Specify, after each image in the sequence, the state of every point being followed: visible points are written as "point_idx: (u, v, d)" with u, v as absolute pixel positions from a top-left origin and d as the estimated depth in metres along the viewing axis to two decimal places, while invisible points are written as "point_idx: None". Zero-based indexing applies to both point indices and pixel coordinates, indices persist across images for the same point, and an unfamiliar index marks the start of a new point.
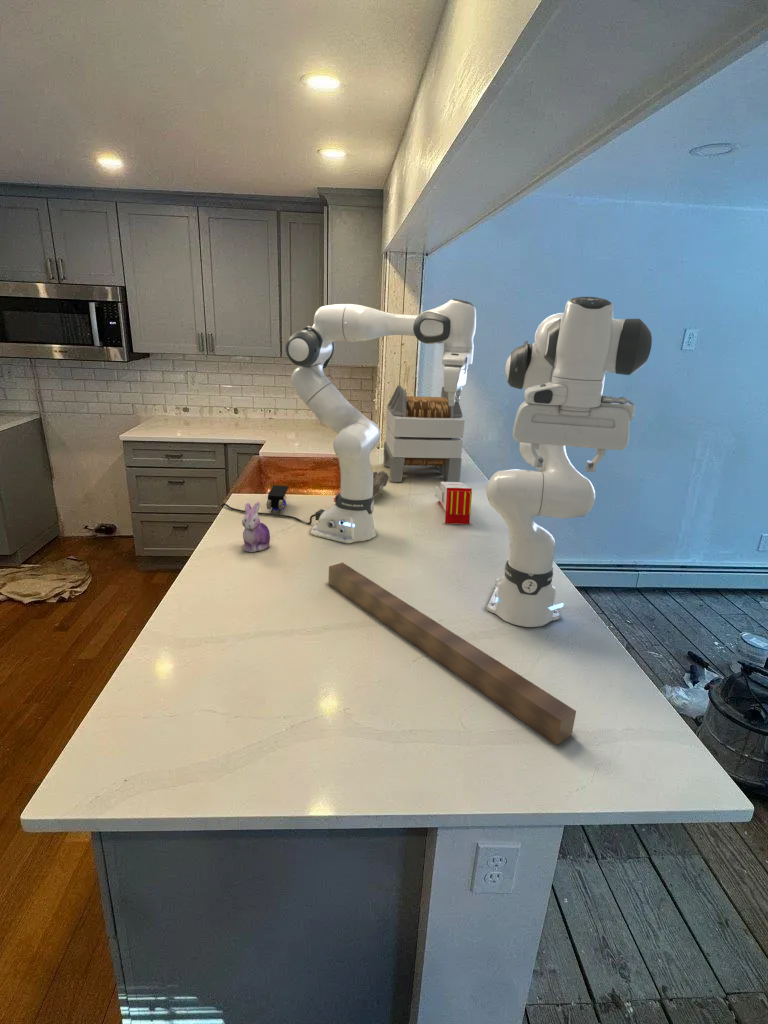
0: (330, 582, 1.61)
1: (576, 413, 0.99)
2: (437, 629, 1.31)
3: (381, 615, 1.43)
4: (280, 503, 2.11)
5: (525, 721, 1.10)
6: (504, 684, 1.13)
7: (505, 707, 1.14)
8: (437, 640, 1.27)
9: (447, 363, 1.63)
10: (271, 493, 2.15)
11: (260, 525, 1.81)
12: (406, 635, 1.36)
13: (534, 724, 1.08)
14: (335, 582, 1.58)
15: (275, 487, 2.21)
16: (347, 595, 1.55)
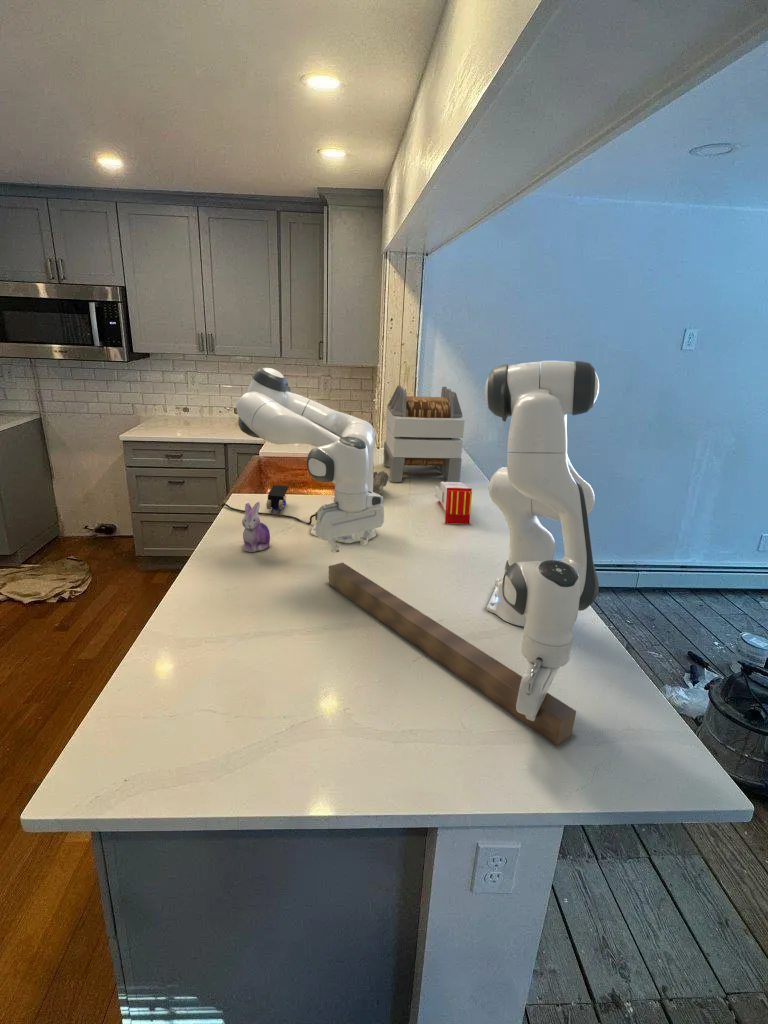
0: (330, 582, 1.61)
1: None
2: (437, 629, 1.31)
3: (381, 615, 1.43)
4: (280, 503, 2.11)
5: (525, 721, 1.10)
6: (504, 684, 1.13)
7: (505, 707, 1.14)
8: (437, 640, 1.27)
9: None
10: (271, 493, 2.15)
11: (260, 525, 1.81)
12: (406, 635, 1.36)
13: (534, 724, 1.08)
14: (335, 582, 1.58)
15: (275, 487, 2.21)
16: (346, 595, 1.55)
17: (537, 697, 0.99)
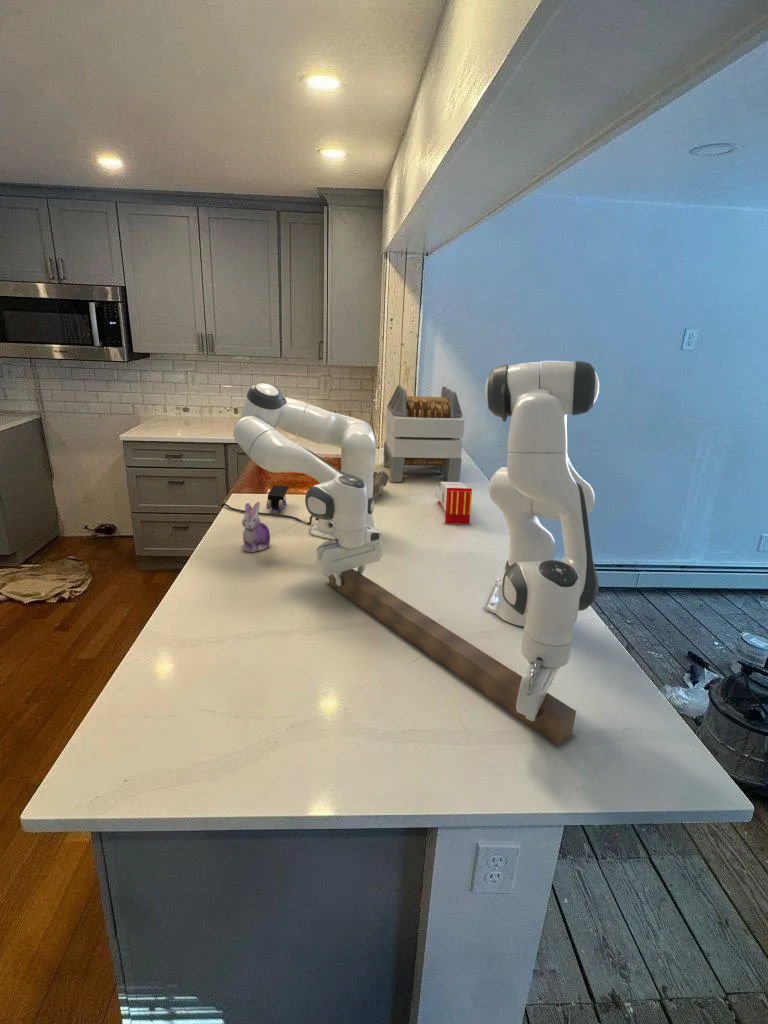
0: (330, 582, 1.61)
1: None
2: (437, 629, 1.31)
3: (381, 615, 1.43)
4: (280, 503, 2.11)
5: (525, 721, 1.10)
6: (504, 684, 1.13)
7: (505, 707, 1.14)
8: (437, 640, 1.27)
9: None
10: (271, 493, 2.15)
11: (260, 525, 1.81)
12: (406, 635, 1.36)
13: (534, 724, 1.08)
14: (335, 582, 1.58)
15: (275, 487, 2.21)
16: (346, 595, 1.55)
17: (537, 697, 0.99)
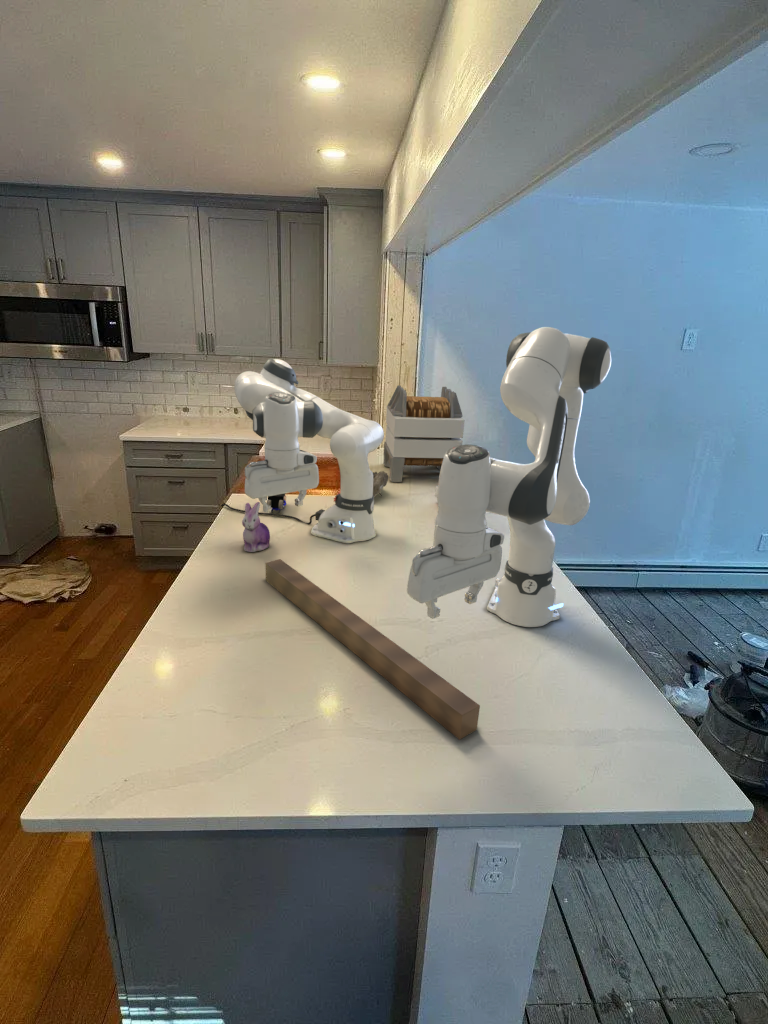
0: (267, 579, 1.61)
1: None
2: (359, 625, 1.31)
3: (310, 612, 1.44)
4: (280, 503, 2.11)
5: (433, 716, 1.10)
6: (414, 679, 1.13)
7: (416, 702, 1.14)
8: (357, 636, 1.27)
9: None
10: None
11: (260, 525, 1.81)
12: (331, 631, 1.36)
13: (440, 718, 1.09)
14: (271, 578, 1.59)
15: None
16: (281, 592, 1.55)
17: (422, 579, 0.94)
